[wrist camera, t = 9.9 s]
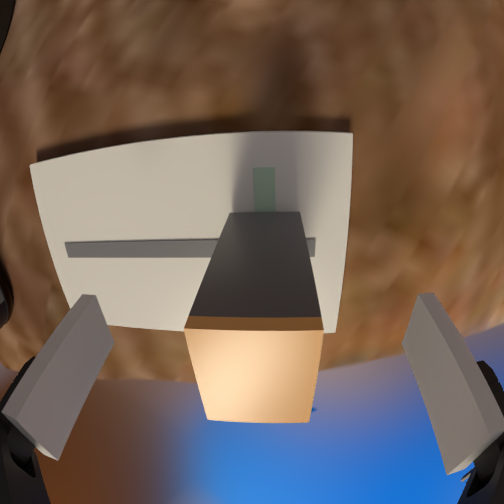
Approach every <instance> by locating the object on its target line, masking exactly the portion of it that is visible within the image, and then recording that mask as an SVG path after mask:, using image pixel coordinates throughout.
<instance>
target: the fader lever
mask: <svg viewBox="0 0 504 504" xmlns="http://www.w3.org/2000/svg"><path fill="white" fill-rule="evenodd" d="M184 332H185V336H186V340H187V345H188V349H189V353H190V357H191V361H192V365H193V369H194V372H195V376H196V380H197V384H198V387H199V391H200V394H201V398H202V402H203V405H204V409H205V412H206V415H207V418H208V420H218V421H232V422H254V423H304V422H309V419H310V414H311V409H312V403H313V398H314V392H315V386H316V380H317V374H318V368H319V362H320V355H321V348H322V341H323V334H324V327H323V322H322V316H321V311H320V305H319V300H318V295H317V290H316V285H315V280H314V275H313V270H312V265H311V260H310V255H309V250H308V246H307V241H306V237H305V232H304V227H303V223H302V219H301V214H300V212H234V213H229V215H228V218H227V220H226V223H225V225H224V228H223V230H222V232H221V235H220V237H219V240H218V242H217V245H216V247H215V250H214V252H213V254H212V257H211V259H210V262H209V264H208V267H207V269H206V272H205V274H204V277H203V280H202V282H201V285H200V287H199V290H198V292H197V295H196V297H195V300H194V303H193V305H192V308H191V310H190V313H189V316H188V318H187V321H186V324H185V326H184Z"/></svg>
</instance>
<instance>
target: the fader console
mask: <svg viewBox="0 0 504 504" xmlns="http://www.w3.org/2000/svg"><path fill="white" fill-rule="evenodd" d="M352 147H353V133H350V132H334V131H248V132H228V133H213V134H200V135H189V136H179V137H170V138H162V139H154V140H146V141H139V142H133V143H126V144H120V145H114V146H108V147H103V148H98V149H92V150H87V151H82V152H78V153H73V154H69V155H64V156H60V157H56V158H51V159H47V160H43V161H40V162H36V163H33V164H31V165H30V171H31V176H32V181H33V187H34V191H35V196H36V201H37V205H38V209H39V213H40V218H41V221H42V225H43V229H44V233H45V236H46V240H47V243H48V247H49V250H50V253H51V256H52V259H53V263H54V266H55V269H56V272H57V274H58V277H59V280H60V283H61V286H62V288H63V291H64V294H65V296H66V299H67V302H68V304H69V307H70V309H71V308H72V307H73V305H74V304H75V303H76V301H77V300H78V299H79V298H80V296H81V295H82V294H88V295H96V296H97V299H98V302H99V305H100V307H101V310H102V313H103V315H104V318H105V320H106V323H107V325H115V326H124V327H135V328H146V329H159V330H173V331H184V326H185V324H186V321H187V318H188V316H189V313H190V310H191V308H192V305H193V303H194V300H195V297H196V295H197V292H198V290H199V287H200V285H201V282H202V280H203V277H204V274H205V272H206V269H207V267H208V264H209V262H210V259H211V257H212V254H213V252H214V250H215V247H216V245H217V242H218V240H219V237H220V235H221V232H222V230H223V228H224V225H225V223H226V220H227V218H228V215H229V213H234V212H300V214H301V219H302V223H303V227H304V232H305V237H306V241H307V246H308V250H309V255H310V260H311V265H312V270H313V275H314V280H315V285H316V290H317V295H318V300H319V305H320V311H321V316H322V322H323V327H324V333H335V331H336V325H337V318H338V312H339V305H340V298H341V290H342V282H343V274H344V265H345V256H346V246H347V236H348V224H349V211H350V195H351V177H352Z"/></svg>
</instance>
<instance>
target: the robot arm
mask: <svg viewBox="0 0 504 504" xmlns="http://www.w3.org/2000/svg"><path fill="white" fill-rule="evenodd" d="M13 4H14V0H0V51H1V48H2V45H3V42H4V40H5V37H6V33H7V30H8V27H9V23H10V19H11V15H12V10H13ZM114 343H115V342H114V340H113V337H112V335H111V333H110V330H109V328H108V325H107V323H106V320H105V318H104V315H103V313H102V310H101V307H100V305H99V302H98V299H97V296H96V295H88V294H82V295H81V296H80V298H79V299H78V300H77V301H76V303H75V304H74V305H73V307H72V308H71V309H70V311H69V312H68V313H67V314H66V316H65V317H64V318H63V320H62V321H61V322H60V324H59V325H58V326H57V328H56V329H55V331H54V332H53V333H52V335H51V336H50V338H49V339H48V340H47V342H46V343H45V345H44V346H43V347H42V349H41V350H40V352H39V353H38V355H37V356H36V357H34V356H33V357H32V358H31V359H30V360H29V361H28V362H26V363H25V364H24V366H23V367H22V369H21V370H20V372H19V373H18V376H16V378H15V379H14V383H12V384H11V385H10V387H9V389H8V390H7V392H6V394H5V395H4V397H3V398H2V400H1V402H0V504H51V503H50V500H49V497H48V494H47V491H46V488H45V484H44V481H43V478H42V474H41V471H40V467H39V463H38V459H37V456H36V454H35V452H34V451H33V450H34V448H35V447H36V448H37V449H38V450H40V451H41V452H42V453H43V454H44V455H47V456H49V457H51V458H54V459H56V460H59V458H60V455H61V453H62V451H63V448H64V446H65V444H66V441H67V439H68V437H69V434H70V432H71V430H72V428H73V426H74V423H75V421H76V419H77V417H78V415H79V413H80V410H81V408H82V406H83V404H84V402H85V400H86V398H87V396H88V394H89V392H90V390H91V388H92V385H93V384H94V382H95V380H96V378H97V376H98V374H99V372H100V370H101V368H102V366H103V364H104V362H105V360H106V358H107V356H108V354H109V352H110V350H111V349H112V347H113V345H114ZM402 346H403V348H404V351H405V353H406V356H407V358H408V360H409V363H410V365H411V368H412V371H413V373H414V376H415V378H416V381H417V383H418V386H419V389H420V392H421V394H422V397H423V400H424V403H425V406H426V408H427V411H428V414H429V417H430V420H431V423H432V426H433V429H434V433H435V436H436V439H437V442H438V446H439V449H440V452H441V456H442V459H443V463H444V467H445V470H446V474H447V475H449V474H451V473H454V472H457V471H460V470H462V469H465V468H466V467H467V466H468V465H469V464H471V463H472V462H474V465H475V467H474V468H473V469H472V470H470V471H469V472H468V473H467V474H466V475H464V476H463V478H462V479H461V481H462V482H463V481H464V480H465V479H467V478H468V477H469V479H468V481H467V482H466V486H465V488H464V490H463V493H462V495H461V497H460V499H459V501H458V503H457V504H504V391H503V388H502V386H501V384H500V382H499V383H498V379H497V377H496V375H495V373H494V372H493V369H491V368H490V367H489V366H488V365H487V364H486V363H485V362H484V361H479V362H476V361H475V359H474V357H473V356H472V354H471V352H470V350H469V348H468V347H467V345H466V343H465V342H464V340H463V338H462V337H461V335H460V333H459V332H458V330H457V328H456V327H455V325H454V323H453V322H452V320H451V319H450V317H449V315H448V314H447V312H446V311H445V309H444V308H443V306H442V305H441V303H440V302H439V300H438V299H437V297H436V296H435V294H434V293H423V294H418V296H417V299H416V302H415V306H414V309H413V312H412V315H411V318H410V322H409V325H408V328H407V331H406V333H405V336H404V339H403V342H402Z"/></svg>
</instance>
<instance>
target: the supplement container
mask: <svg viewBox="0 0 504 504" xmlns="http://www.w3.org/2000/svg"><path fill="white" fill-rule="evenodd" d="M12 312H13V301H12V295H11V291H10V288H9V285H8V283H7V280H6V278H5V276H4V274H3V272H2V270H1V268H0V329H1V328H2V327H3V325H5V324H6V323H7V322H8V321H9V319H10V318H11V315H12Z"/></svg>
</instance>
